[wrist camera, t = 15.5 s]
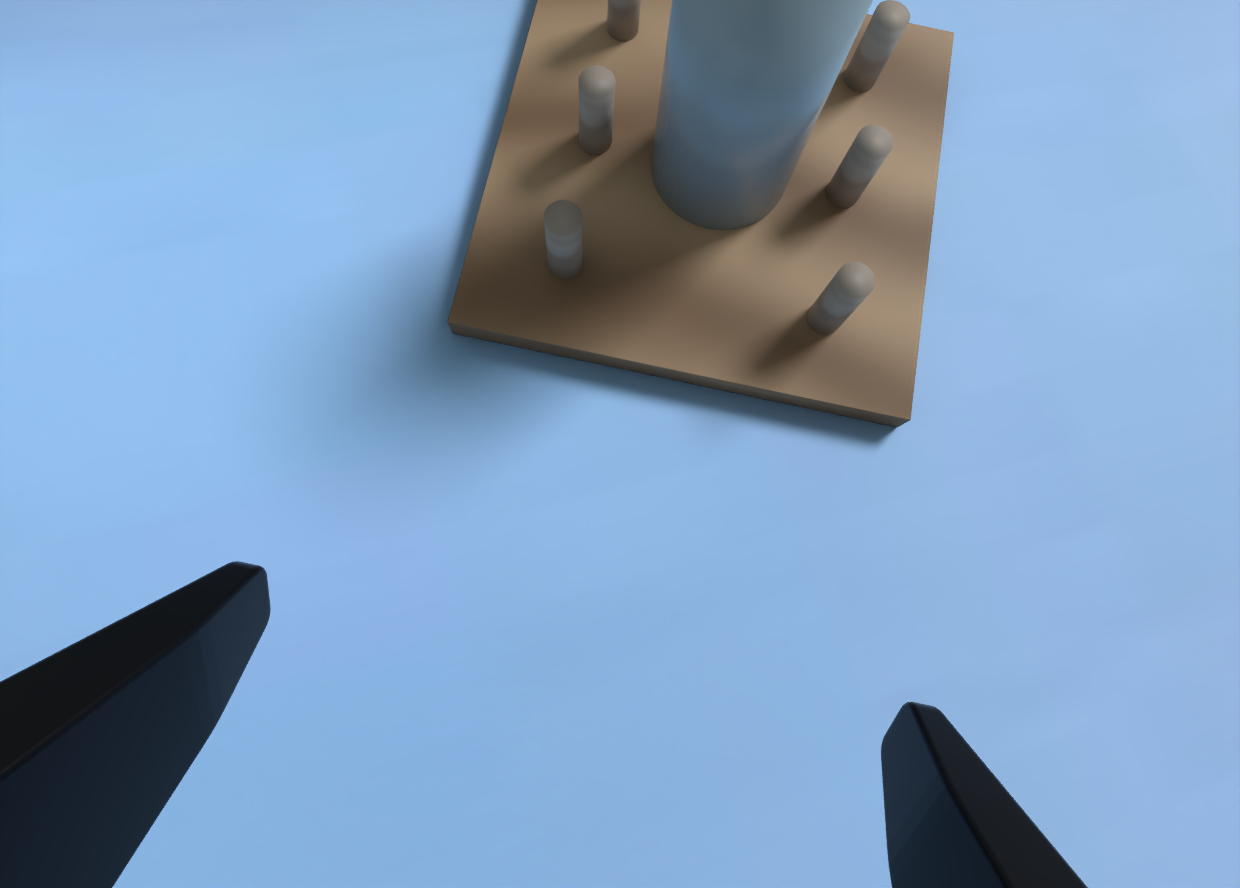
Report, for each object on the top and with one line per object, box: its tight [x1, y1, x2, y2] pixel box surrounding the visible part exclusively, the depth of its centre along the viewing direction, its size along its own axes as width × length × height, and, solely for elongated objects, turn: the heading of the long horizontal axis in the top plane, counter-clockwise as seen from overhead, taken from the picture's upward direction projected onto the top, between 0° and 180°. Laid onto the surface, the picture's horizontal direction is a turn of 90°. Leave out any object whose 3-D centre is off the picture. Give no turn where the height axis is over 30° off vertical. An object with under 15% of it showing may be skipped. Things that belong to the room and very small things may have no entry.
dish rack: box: [448, 0, 954, 427], centre depth 25 cm, size 16×16×4 cm
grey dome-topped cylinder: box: [651, 0, 873, 230], centre depth 21 cm, size 5×5×10 cm
